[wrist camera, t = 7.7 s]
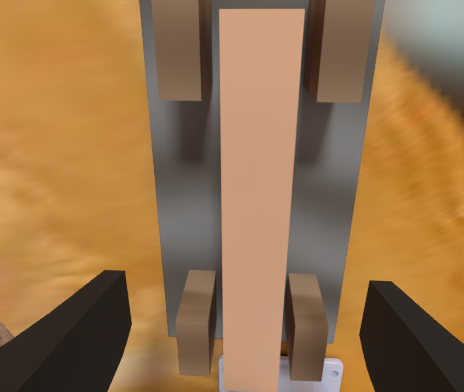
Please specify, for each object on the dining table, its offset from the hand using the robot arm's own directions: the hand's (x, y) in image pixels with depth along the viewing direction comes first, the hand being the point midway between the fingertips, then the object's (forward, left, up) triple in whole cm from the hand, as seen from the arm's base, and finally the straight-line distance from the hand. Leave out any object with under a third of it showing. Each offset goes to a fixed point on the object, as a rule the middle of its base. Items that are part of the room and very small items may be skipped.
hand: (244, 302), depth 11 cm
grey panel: (0, 0, -9) cm, 9 cm away
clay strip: (0, 0, -8) cm, 8 cm away
